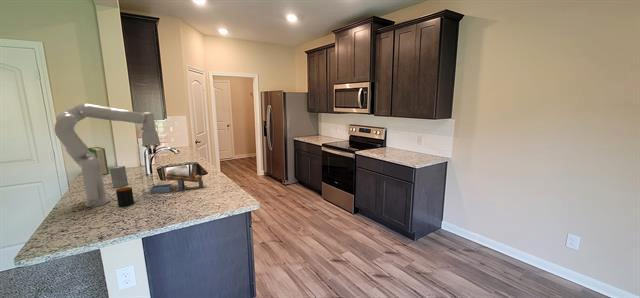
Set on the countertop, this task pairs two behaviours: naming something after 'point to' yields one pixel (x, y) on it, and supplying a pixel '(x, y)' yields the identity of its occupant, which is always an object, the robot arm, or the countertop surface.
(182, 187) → the fulcrum
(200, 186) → the rest block
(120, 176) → the skincare box
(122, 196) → the mug
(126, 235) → the countertop surface
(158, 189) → the dish
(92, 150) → the hardback book
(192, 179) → the brown flat board
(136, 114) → the robot arm
